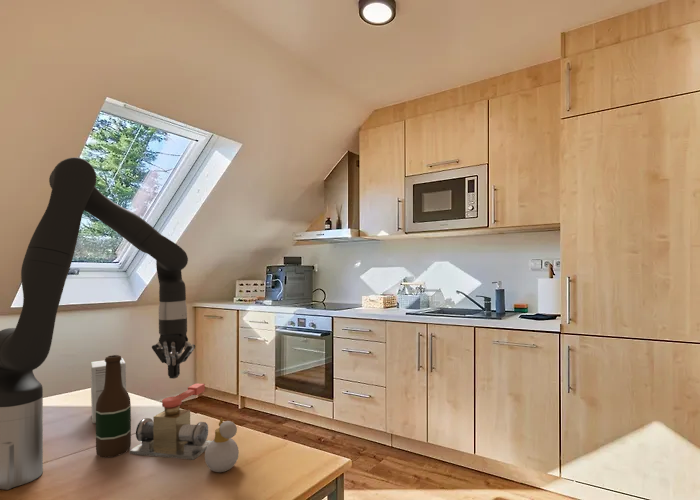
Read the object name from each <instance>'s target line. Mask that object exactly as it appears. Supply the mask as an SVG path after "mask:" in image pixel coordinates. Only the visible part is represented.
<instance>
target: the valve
mask: <svg viewBox="0 0 700 500" xmlns="http://www.w3.org/2000/svg"><path fill="white" fill-rule="evenodd" d="M180 406H181V405H179V406H176V407H170V408H166V407H163V408H164V410H163V411H162V412H160V413H158V414H156V415H154V416H153V419H152V418H150V417H145V418H142V419H141V420H140V421H139V422H138V424H137V426H136V430H135V438H136V440H137V441H139V442H141V443H139V444H138V445H136V446H134V447H133V448H130V449H128V451H129V454H130V455H138V456H140V455H141V456H147V457H148V456H150V457H159V458H160V457H162V458H172V459H173V458H175V459H184V460H195V459H197V458H199V456H201V455H202V454H203V453H205V451H206V448H207V446H208V445H209V444H210V442H212V441H213V440H207V438H208V435H209V424H208V423H207V422H206V421H199V422H198V423H196V424H191V409H182V408H180Z"/></svg>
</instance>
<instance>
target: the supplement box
mask: <svg viewBox="0 0 700 500" xmlns="http://www.w3.org/2000/svg"><path fill="white" fill-rule="evenodd" d="M121 359H122V360H120V364H121V377H122V384H123V387H124V389H125V390H126V391H127V372H126V370H127V369H126V368H127V367H126V361H125V360H124V357H121ZM90 363H91V364H90V393H91V394H90V395H91V399H90V400H91V421H92V424H96V403H97V400H98V397H99V395H100V394H101V393H102V391H103V390H104V384H105V372H106V362H105V359H104V360H98V361H91V362H90Z"/></svg>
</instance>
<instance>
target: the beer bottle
mask: <svg viewBox="0 0 700 500" xmlns="http://www.w3.org/2000/svg"><path fill="white" fill-rule="evenodd" d="M121 358H122V356H121V355H119V354H113V355H108V356H107V357H105V359H104V360H105V362H106V372H105V384H104V390H103V391H102V393H101V394H100V395H99V397H98V400H97V403H96V423H95V454H96V455H97V456H98V457H100V458H102V459H103V458H104V459H105V458H114V457H118V456H120V455H123V454H125V453H127V452H128V451H129V450H130V449H131V445H132V444H131V441H132V433H131V432H132V431H131V430H132V429H131V428H132V423H131V421H132V419H131V418H132V414H131V413H132V412H131V411H132V410H131V407H132V405H131V397H130V395H129V392H128V391H127V389H126V390H125V389H124V387H123V384H122V377H121V364H120V360H122V359H121Z"/></svg>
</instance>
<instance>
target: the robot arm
mask: <svg viewBox="0 0 700 500" xmlns="http://www.w3.org/2000/svg"><path fill="white" fill-rule="evenodd" d="M48 180H49V181H48V182H49V187H50V188H51V193H50V198H49V201H48V205H47V207H46V210H45V212H44V213H43V216H41V219H40V220H39V222H38V224H37V225H36V228H35V230H34V232H33V234H32V237H31V238H30V241H29V244H28V246H27V248H26V251H25V255H24V257H23V260H22V265H21V269H20V278H21V281H20V282H21V288H22V293H23V294H22V295H23V296H22V297H23V298H22V309H21V312H20V315H19V318H18V321H17V324H16V325H15V327H11V328H10V327H9V328H5V329H1V330H0V490H6V491H9V490H11V489H12V488H15V487H19V486H21V485H24V484H28V483H30V482H33V481H35V480H36V479H38V478H40V476H41V475H43V473H44V468H43V464H44V463H43V462H44V448H43V447H44V445H43V443H44V441H43V439H44V433H43V431H44V427H43V425H44V424H43V421H44V419H43V418H44V415H43V414H44V412H43V410H44V409H43V408H44V405H43V404H44V403H43V402H44V398H43V397H44V394H43V393H44V391H43V390H44V389H43V387H44V386H43V384H42V383H41V382H40V381H39V380H38V379H37V378H36V376H35V375H34V370H36V369H38V368H39V367H40V366H41V365H42V364H43V363H44V362H45V361H46V359H47V357H48V355H49V354H50V351H51V347H52V342H53V337H54V332H55V325H56V318H57V313H58V310H59V305H60V302H61V298H62V295H63V291H64V287H65V284H66V280H67V279H68V278H67V277H68V275H69V272H70V268H71V265H72V262H73V258H74V256H75V251H76V248H77V247H76V246H77V242H78V239H79V235H80V234H79V233H80V227H81V223H82V220H83V219H82V218H83V215H84V212H86V213H87V214H89V215H91V216H93V217H94V218H96V219H97V220H98V221H100V222H102V223H103V224H105V225H106V226H107V227H109V228H110V229H111V230H112V231H114V232H116V233H117V234H118V235H119V236H120V237H122V238H123V239H125V241H127V242H128V243H130V244H131V245H132V246H134V247H135V248H136V249H137V250H139V251H140V252H143V253H145V254H147V255H149V256H150V257H151V258H153V259H154V260H155V264H156V265H155V266H156V267H155V268H156V275H157V279H158V286H159V289H158V290H159V291H158V299H159V302H158V303H159V304H158V334H159V335H160V336H159V338H158V342H157V343H156V344H153V345H152V346H151V349H152V350H153V352H154V354H155V355H156V356H157V358H158V359H159V361H160V362H161V363H162V364H166V365H167V375H168V377H169V379H177V378H179V376H180V375H181V373H180V371H181V370H180V367H181V366H180V365H181V364H182V363H185V362H186V361H187V360H188V359H189V358H190V355H191V354H192V352H193V351H194V350H195V349H196V345H195V344H194V343H193V344H191V343H190V342H189V338H188V335H187V333H188V308H187V307H188V306H187V300H186V299H187V297H186V296H187V294H186V291H187V290H186V288H187V287H186V283H185V282H184V280H183V275H182V274H183V273H182V270H184V269H185V268H186V266H187V265H188V262H189V257H188V254H187V253H186V252H187V251H185V250H184V249H183V248H182V247H181V246H180V245H179V244H177V243H176V242H174V241H172V240H171V239H169V238H168V237H166V236H164V235H163V234H162V233H160V232H159V231H158V230H157V229H155V228H154V227H153V226H152V225H151V224H150V223H148V221H146V220H144V219H143V218H142V217H140V216H139V215H137V214H136V213H134V212H132V211H130V210H129V209H127V208H125V207H123V206H121V205H120V204H117V203H115V202H114V201H113V200H111V199H109V198H108V196H106V195H105V194H103V193H102V192H101V191H100V190H99V189H98V188H97V187H96V184H97V173H96V170H95V168H94V167H93V165H92V164H91V163H90V162H89V161H87V160H86V159H83V158H81V157H69V158H65V159H63V160H61V161H60V162H59V163H57V164H56V166H55V167H54V169H52V171H51V173H50V175H49V179H48ZM183 350H184V351H183Z"/></svg>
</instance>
